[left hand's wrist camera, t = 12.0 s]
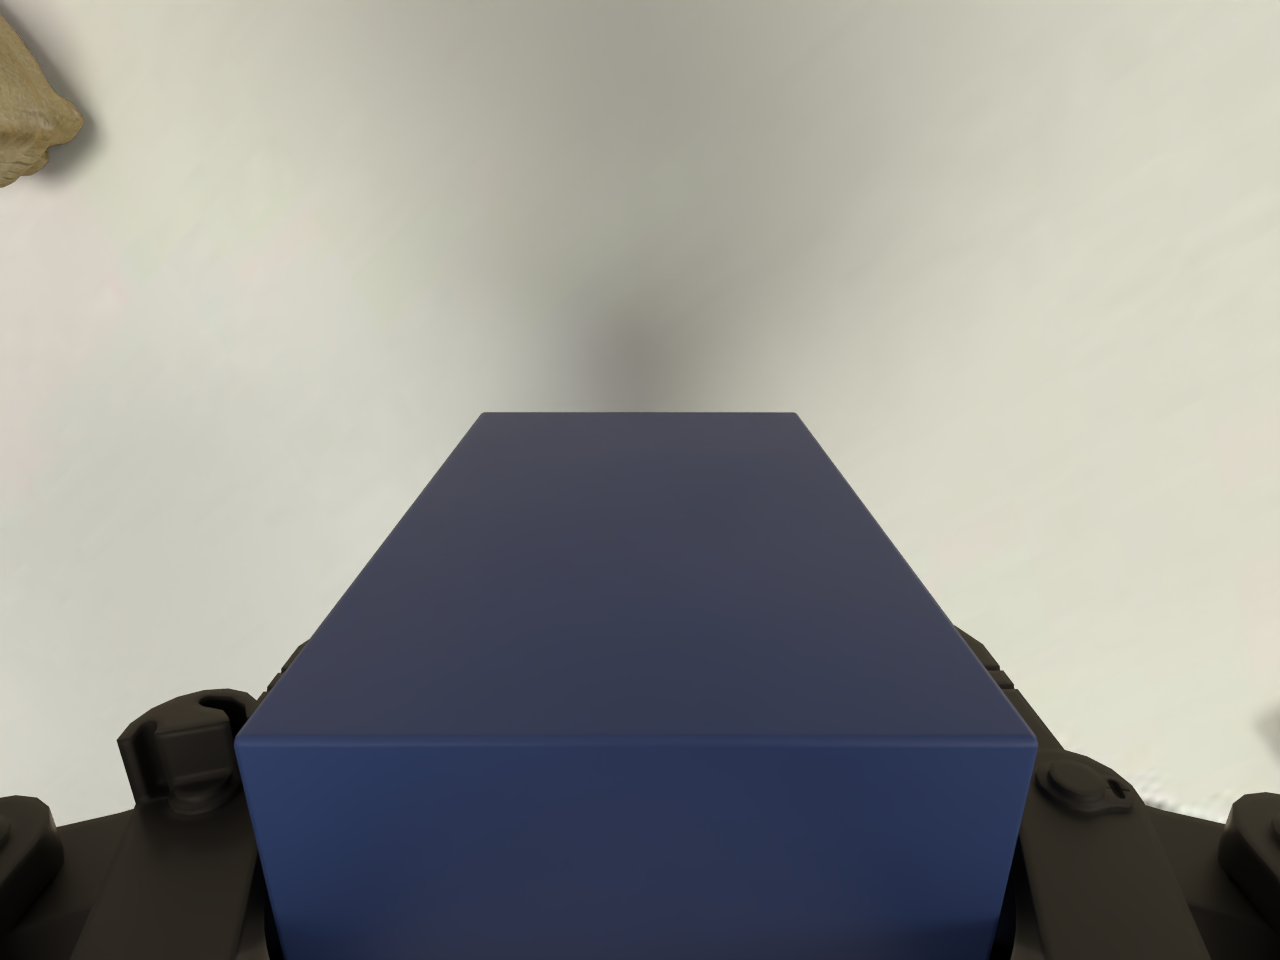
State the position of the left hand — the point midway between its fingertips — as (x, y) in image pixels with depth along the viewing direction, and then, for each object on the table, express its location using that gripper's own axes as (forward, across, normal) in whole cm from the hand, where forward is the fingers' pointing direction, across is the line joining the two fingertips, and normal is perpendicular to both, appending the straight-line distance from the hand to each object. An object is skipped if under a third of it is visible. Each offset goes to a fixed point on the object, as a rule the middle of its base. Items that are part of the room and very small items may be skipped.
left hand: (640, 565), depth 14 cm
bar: (+1, 0, -11) cm, 11 cm away
